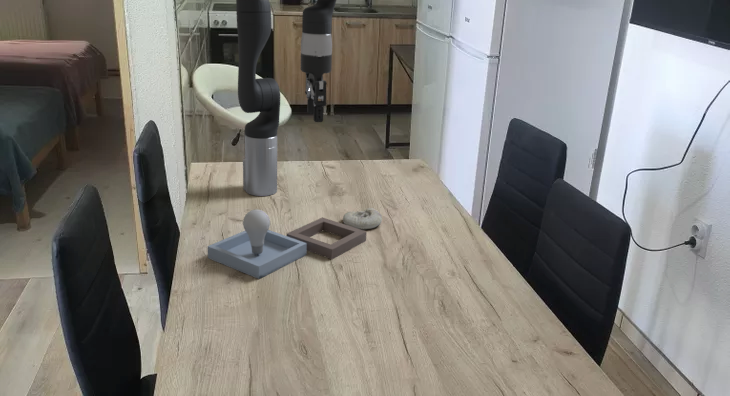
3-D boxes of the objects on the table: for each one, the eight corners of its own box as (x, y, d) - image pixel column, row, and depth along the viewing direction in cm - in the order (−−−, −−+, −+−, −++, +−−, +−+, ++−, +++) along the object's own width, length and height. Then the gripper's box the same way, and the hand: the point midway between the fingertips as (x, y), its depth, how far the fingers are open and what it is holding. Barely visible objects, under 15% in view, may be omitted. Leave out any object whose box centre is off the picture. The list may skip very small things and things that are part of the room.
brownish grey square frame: (286, 243, 159) (286, 233, 158) (322, 226, 170) (322, 217, 169) (331, 259, 152) (332, 249, 151) (366, 240, 162) (366, 231, 162)
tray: (207, 258, 149) (207, 246, 148) (256, 236, 161) (256, 225, 160) (259, 279, 141) (259, 266, 140) (306, 254, 153) (306, 243, 152)
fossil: (362, 199, 179) (391, 213, 174) (360, 212, 180) (389, 225, 175) (336, 210, 170) (366, 224, 165) (334, 222, 172) (364, 237, 167)
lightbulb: (246, 261, 147) (244, 216, 143) (242, 250, 152) (240, 206, 149) (273, 258, 149) (272, 214, 145) (268, 247, 154) (267, 204, 150)
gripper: (296, 47, 163) (295, 111, 168) (306, 56, 150) (305, 125, 155) (325, 48, 165) (323, 111, 170) (338, 56, 152) (335, 124, 157)
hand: (314, 117), depth 163 cm, fingers open, 8 cm apart
